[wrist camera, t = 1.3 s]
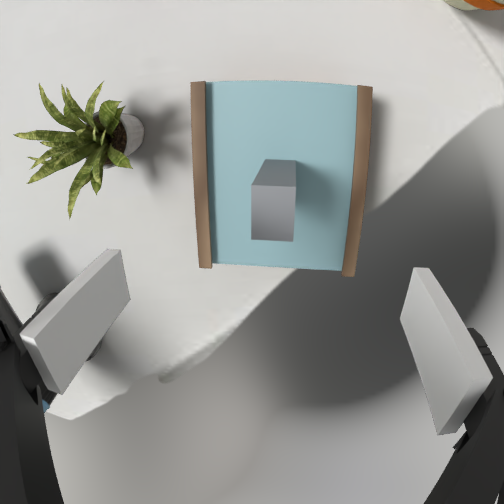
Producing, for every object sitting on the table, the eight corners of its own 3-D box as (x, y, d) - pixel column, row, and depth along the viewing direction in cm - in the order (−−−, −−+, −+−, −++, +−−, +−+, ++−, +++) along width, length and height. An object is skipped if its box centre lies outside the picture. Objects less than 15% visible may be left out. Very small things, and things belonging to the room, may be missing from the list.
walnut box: (215, 238, 44) (199, 267, 36) (211, 86, 35) (190, 82, 28) (344, 245, 42) (354, 276, 34) (356, 90, 33) (372, 86, 26)
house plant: (121, 54, 34) (39, 42, 19) (199, 108, 36) (140, 113, 22) (73, 139, 40) (-9, 165, 25) (140, 194, 42) (71, 242, 28)
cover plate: (213, 259, 38) (182, 320, 27) (207, 82, 30) (163, 73, 19) (341, 266, 37) (357, 332, 26) (356, 86, 28) (390, 77, 17)
